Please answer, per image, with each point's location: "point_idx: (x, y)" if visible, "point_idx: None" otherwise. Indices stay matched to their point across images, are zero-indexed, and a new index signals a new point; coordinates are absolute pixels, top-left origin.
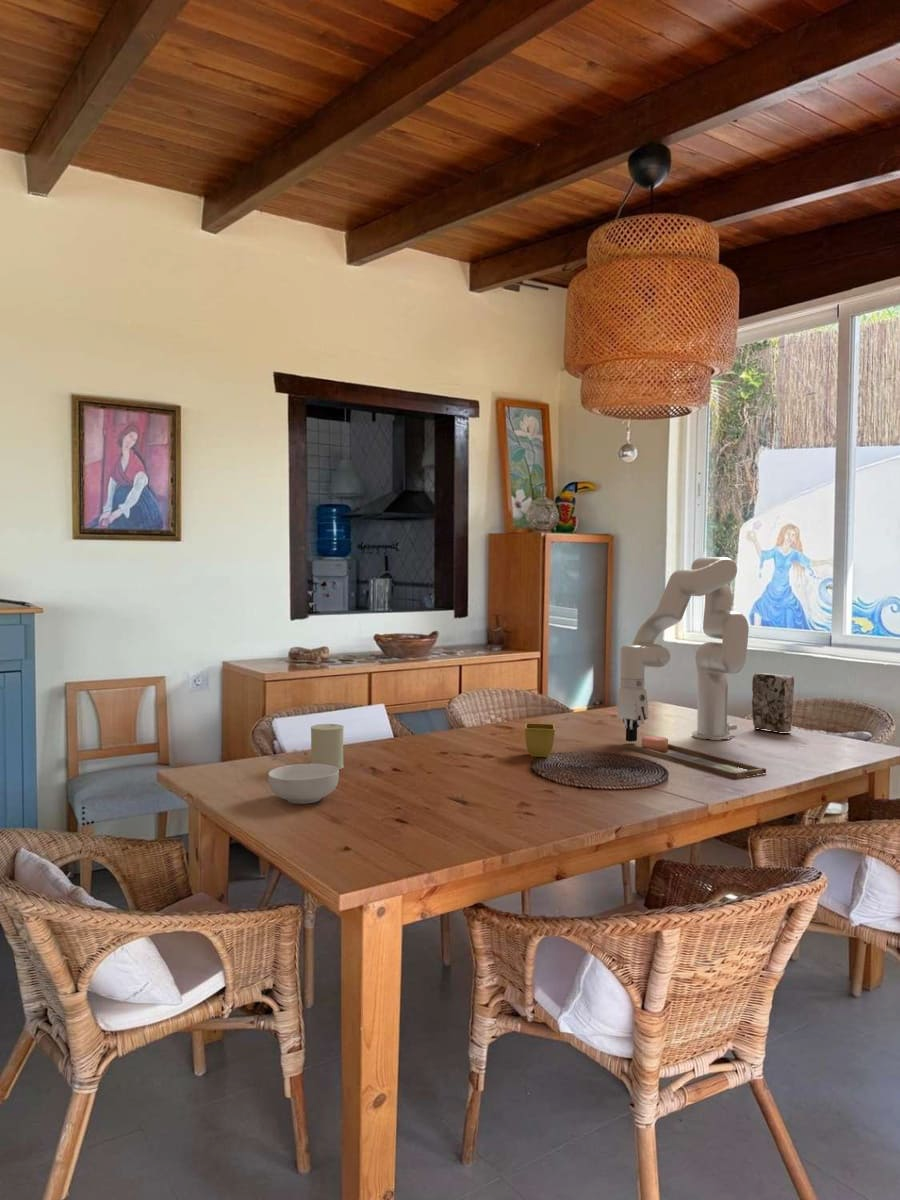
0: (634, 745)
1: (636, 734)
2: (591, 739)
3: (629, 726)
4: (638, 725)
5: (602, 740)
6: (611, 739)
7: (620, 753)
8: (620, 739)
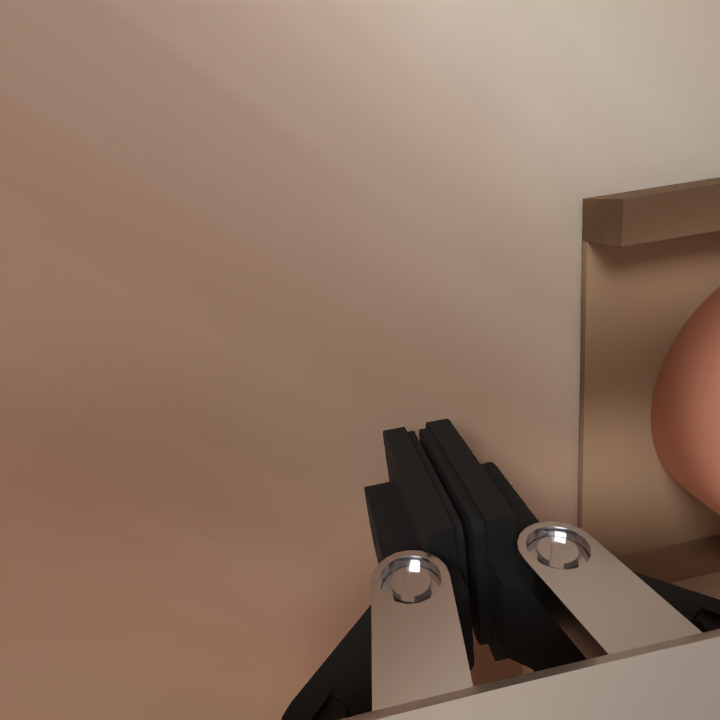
0: (696, 586)
1: (474, 464)
2: (39, 715)
3: (468, 656)
4: (683, 606)
5: (116, 640)
6: (73, 537)
7: None
8: (92, 440)
